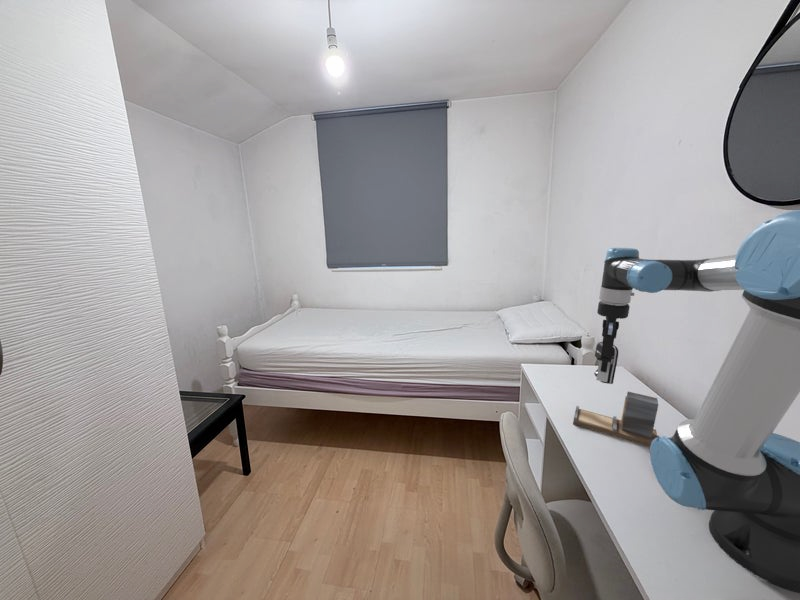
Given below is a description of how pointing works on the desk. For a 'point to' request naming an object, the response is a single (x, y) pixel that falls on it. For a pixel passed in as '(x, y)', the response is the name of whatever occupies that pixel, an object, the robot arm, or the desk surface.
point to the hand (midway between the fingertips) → (602, 375)
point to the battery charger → (612, 363)
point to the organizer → (625, 420)
